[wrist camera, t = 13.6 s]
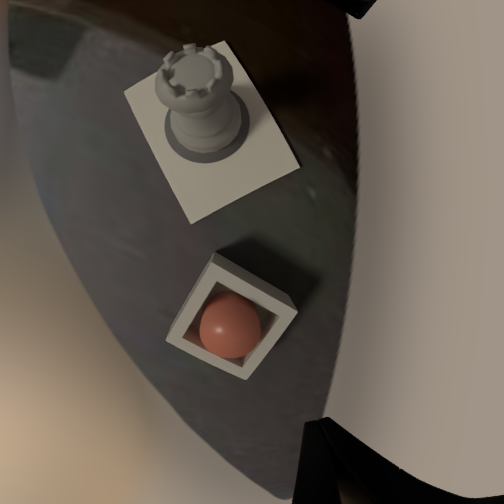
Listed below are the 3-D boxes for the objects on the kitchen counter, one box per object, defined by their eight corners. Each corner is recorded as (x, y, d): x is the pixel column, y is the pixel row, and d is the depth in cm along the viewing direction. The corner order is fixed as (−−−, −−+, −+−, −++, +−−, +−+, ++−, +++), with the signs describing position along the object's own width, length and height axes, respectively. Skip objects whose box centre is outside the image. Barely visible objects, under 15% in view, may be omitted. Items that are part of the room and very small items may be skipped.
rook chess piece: (212, 79, 15) (203, 10, 8) (255, 125, 16) (275, 74, 8) (160, 121, 16) (114, 73, 8) (201, 168, 17) (178, 146, 9)
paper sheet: (125, 93, 15) (123, 91, 15) (224, 42, 15) (224, 40, 15) (191, 223, 18) (190, 224, 17) (298, 167, 17) (300, 167, 17)
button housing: (214, 251, 18) (211, 262, 15) (288, 294, 19) (298, 311, 16) (173, 320, 19) (165, 340, 16) (243, 356, 20) (246, 380, 17)
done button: (220, 280, 17) (218, 293, 15) (267, 307, 18) (272, 323, 16) (193, 323, 18) (188, 341, 15) (239, 347, 18) (240, 366, 16)
